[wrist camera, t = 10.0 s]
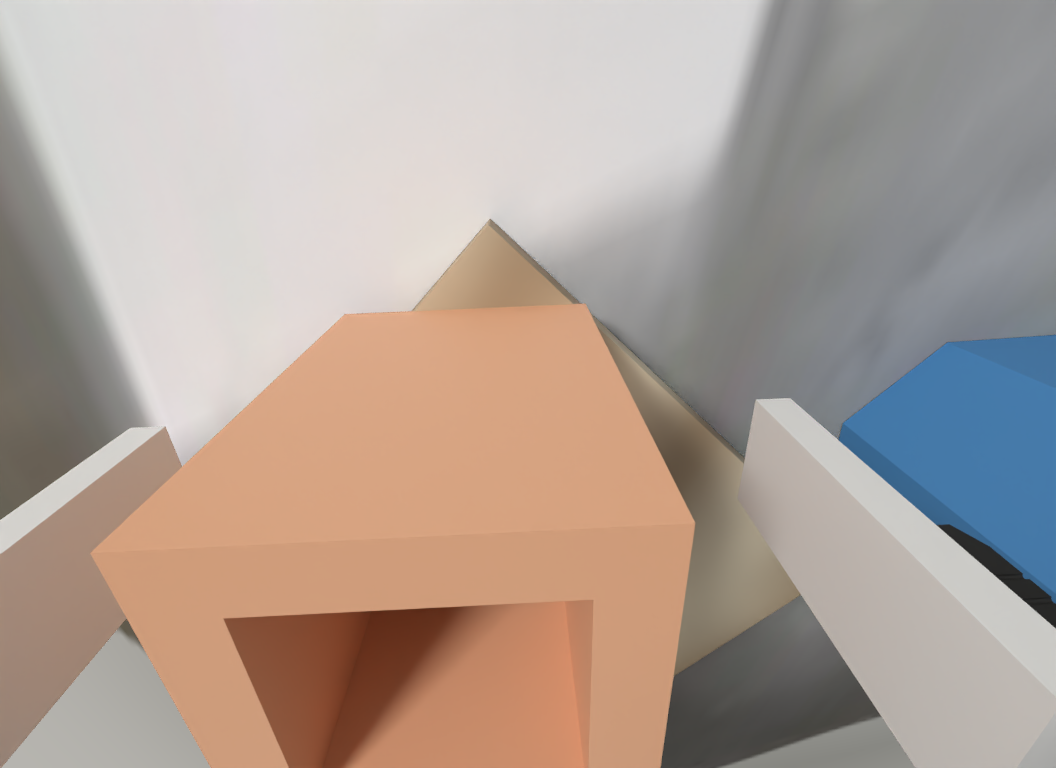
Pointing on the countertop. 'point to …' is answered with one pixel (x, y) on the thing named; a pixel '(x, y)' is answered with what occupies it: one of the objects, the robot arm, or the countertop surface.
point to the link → (420, 556)
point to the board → (682, 439)
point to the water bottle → (974, 445)
